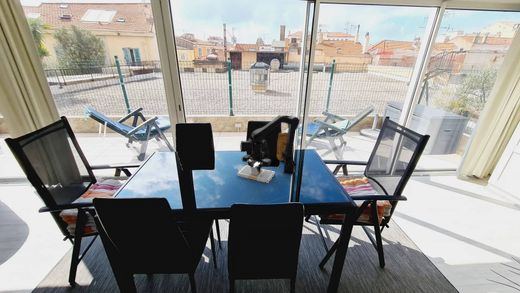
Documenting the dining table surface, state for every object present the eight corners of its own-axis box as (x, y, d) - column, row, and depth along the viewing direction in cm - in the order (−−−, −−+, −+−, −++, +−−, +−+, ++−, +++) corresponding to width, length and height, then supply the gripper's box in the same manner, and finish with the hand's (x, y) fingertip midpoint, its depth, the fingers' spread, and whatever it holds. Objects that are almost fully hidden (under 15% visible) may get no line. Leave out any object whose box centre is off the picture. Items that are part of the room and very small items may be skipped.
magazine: (273, 156, 170) (265, 140, 164) (257, 163, 171) (249, 147, 165) (272, 154, 173) (264, 138, 168) (257, 161, 175) (249, 145, 169)
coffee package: (294, 161, 166) (296, 134, 158) (278, 162, 165) (279, 134, 156) (290, 156, 175) (293, 130, 167) (275, 156, 174) (277, 130, 165)
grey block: (261, 171, 149) (261, 163, 146) (256, 176, 142) (256, 168, 140) (256, 170, 150) (256, 162, 148) (251, 175, 143) (251, 167, 141)
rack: (274, 174, 148) (274, 171, 147) (268, 183, 137) (268, 180, 136) (245, 167, 156) (245, 165, 155) (237, 175, 145) (237, 173, 144)
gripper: (274, 148, 143) (273, 169, 149) (249, 143, 150) (249, 164, 156) (268, 154, 134) (267, 176, 140) (241, 149, 140) (241, 171, 146)
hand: (256, 171), depth 146 cm, fingers closed on grey block, 4 cm apart
